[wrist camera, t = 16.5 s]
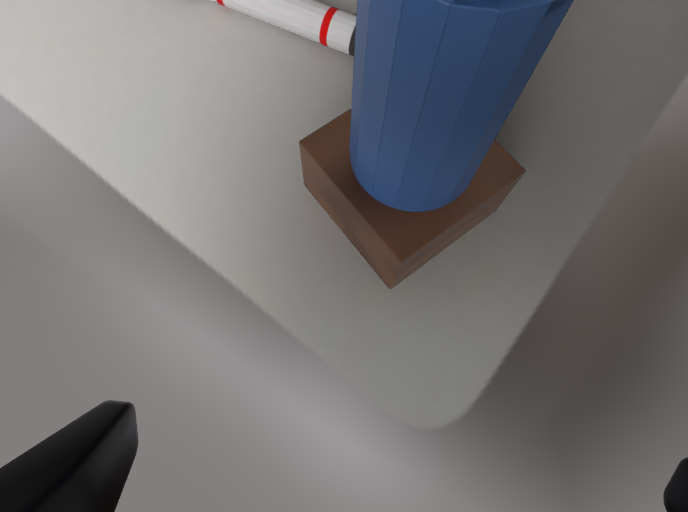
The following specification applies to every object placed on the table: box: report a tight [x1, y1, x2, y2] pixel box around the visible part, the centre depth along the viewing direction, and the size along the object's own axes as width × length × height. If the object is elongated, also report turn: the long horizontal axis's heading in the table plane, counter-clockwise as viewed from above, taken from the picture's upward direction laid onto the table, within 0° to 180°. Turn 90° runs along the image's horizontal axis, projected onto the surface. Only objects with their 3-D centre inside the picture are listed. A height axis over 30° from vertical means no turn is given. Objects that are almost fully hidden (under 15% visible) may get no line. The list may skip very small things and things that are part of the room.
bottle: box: [349, 0, 573, 212], centre depth 14 cm, size 5×5×14 cm
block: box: [299, 109, 526, 289], centre depth 22 cm, size 7×7×4 cm
